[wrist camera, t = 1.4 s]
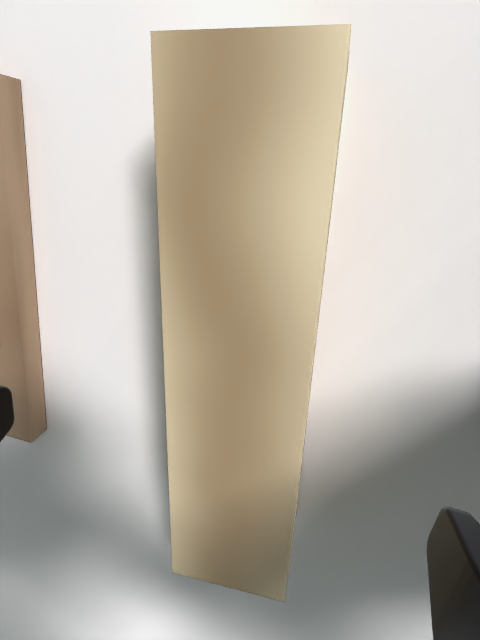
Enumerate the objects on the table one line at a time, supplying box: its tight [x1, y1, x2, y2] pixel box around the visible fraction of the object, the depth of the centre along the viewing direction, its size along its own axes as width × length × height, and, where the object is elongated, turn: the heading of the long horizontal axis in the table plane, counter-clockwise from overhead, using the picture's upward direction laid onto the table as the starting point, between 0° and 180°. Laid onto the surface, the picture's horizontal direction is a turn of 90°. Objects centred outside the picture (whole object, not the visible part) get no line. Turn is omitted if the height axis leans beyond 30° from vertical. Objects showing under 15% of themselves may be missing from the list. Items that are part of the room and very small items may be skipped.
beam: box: [150, 24, 351, 602], centre depth 12 cm, size 4×16×4 cm, turn 178°
